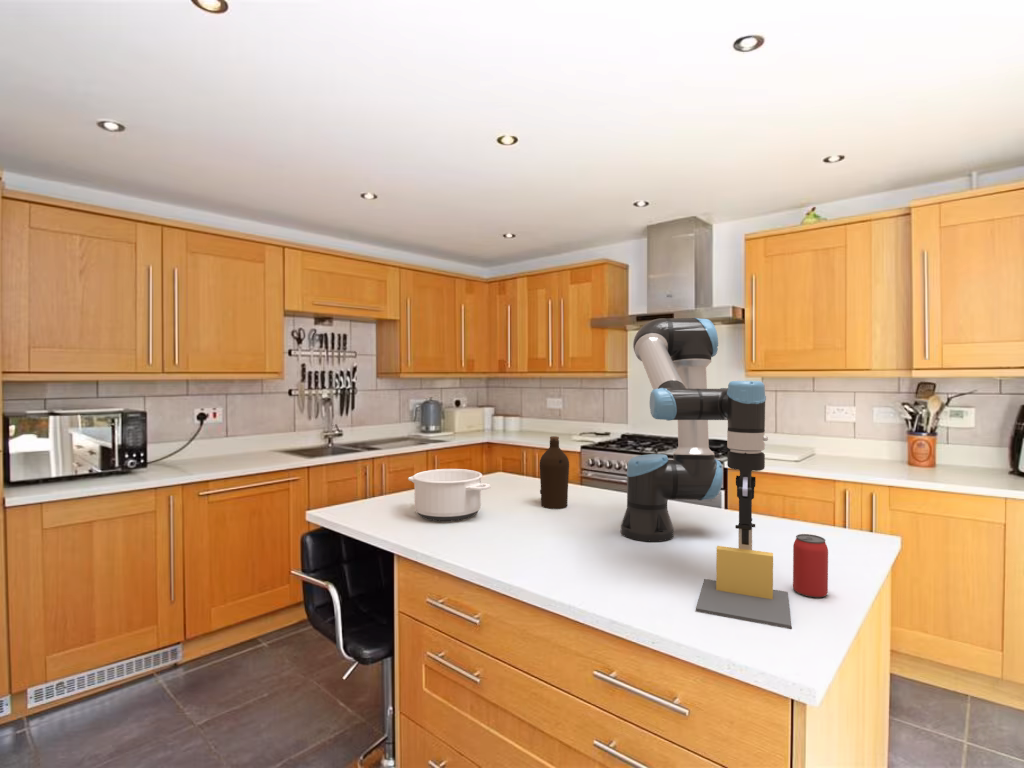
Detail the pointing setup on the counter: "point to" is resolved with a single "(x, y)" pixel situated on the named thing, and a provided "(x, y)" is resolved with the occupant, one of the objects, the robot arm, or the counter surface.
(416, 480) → the pot
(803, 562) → the beer can
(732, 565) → the slab
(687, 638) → the counter surface
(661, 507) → the robot arm
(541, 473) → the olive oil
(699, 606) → the mat
